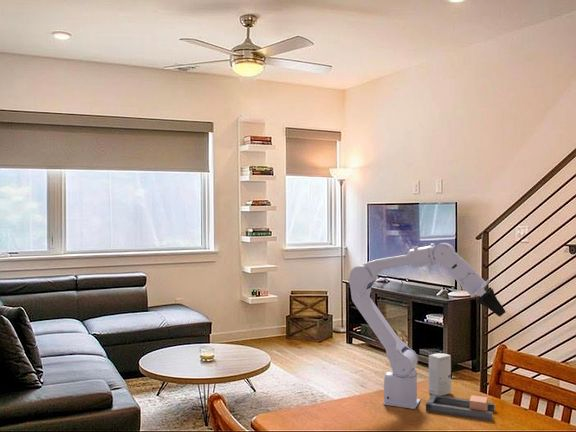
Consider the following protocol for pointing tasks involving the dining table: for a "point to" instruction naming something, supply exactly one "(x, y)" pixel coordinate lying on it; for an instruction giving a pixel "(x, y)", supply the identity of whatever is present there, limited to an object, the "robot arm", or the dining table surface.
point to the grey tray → (458, 407)
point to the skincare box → (440, 374)
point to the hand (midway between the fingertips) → (501, 313)
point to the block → (478, 403)
